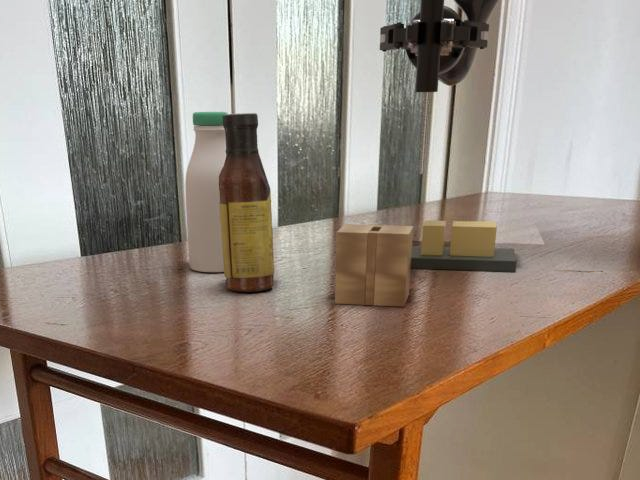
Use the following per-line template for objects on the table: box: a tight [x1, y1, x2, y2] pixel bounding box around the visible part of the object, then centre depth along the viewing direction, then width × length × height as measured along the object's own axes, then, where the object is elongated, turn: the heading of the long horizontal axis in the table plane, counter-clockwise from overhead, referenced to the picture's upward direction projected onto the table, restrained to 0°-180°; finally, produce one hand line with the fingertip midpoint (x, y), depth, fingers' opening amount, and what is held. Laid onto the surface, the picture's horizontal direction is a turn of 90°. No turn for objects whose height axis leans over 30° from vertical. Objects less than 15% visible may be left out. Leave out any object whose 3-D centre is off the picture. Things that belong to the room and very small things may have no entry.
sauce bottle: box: [219, 112, 275, 293], centre depth 90 cm, size 7×6×20 cm
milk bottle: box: [184, 111, 228, 273], centre depth 102 cm, size 8×8×20 cm
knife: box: [414, 0, 445, 175], centre depth 89 cm, size 3×3×19 cm
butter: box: [411, 220, 517, 273], centre depth 107 cm, size 16×10×6 cm, turn 77°
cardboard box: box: [334, 224, 414, 308], centre depth 87 cm, size 8×6×8 cm
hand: (429, 31), depth 84 cm, fingers closed on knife, 2 cm apart
